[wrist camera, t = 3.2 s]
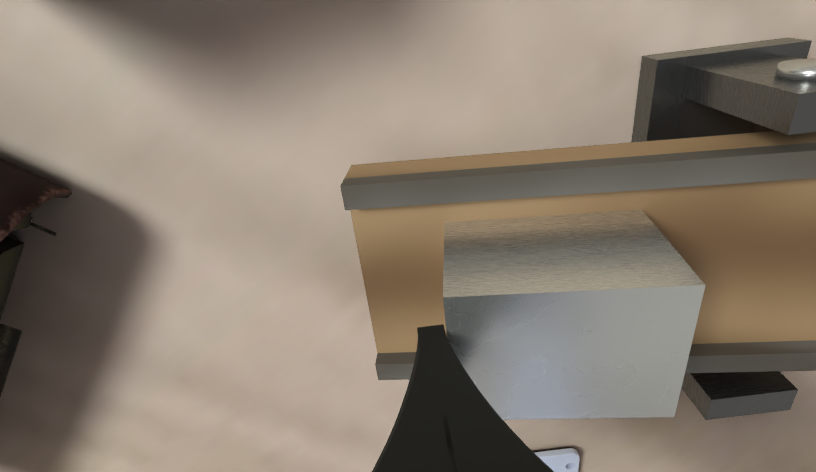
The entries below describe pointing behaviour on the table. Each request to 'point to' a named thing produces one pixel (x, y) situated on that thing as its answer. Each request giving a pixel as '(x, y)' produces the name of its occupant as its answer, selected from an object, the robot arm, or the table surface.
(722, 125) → the stand
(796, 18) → the table surface
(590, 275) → the block
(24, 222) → the diary
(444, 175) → the beam
